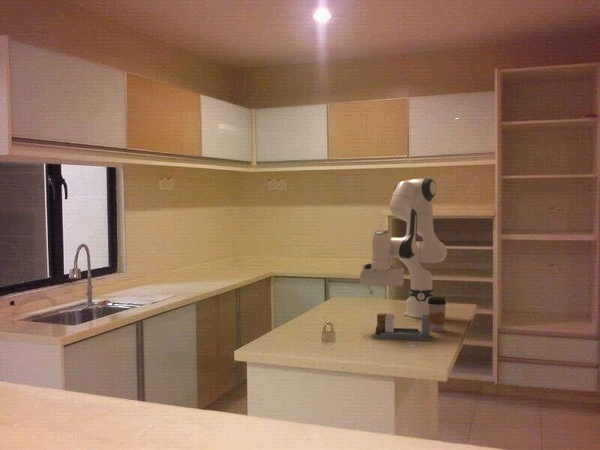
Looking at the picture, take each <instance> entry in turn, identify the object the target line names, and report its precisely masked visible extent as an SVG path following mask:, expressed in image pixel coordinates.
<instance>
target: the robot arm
mask: <svg viewBox="0 0 600 450" xmlns="http://www.w3.org/2000/svg"><path fill="white" fill-rule="evenodd" d="M436 194H437V185H436V182H435V181H434V179H433V178H428V177H427V178H426V177H425V178H413V179H407V180H400V181H397V182H396V183H395V185H394V188H393V193H392V196H391V199H390V203H389V209H390V211H391V214H392V215H393V216H394V217H396V218H397V219H399V220H402V221H404V222H406V232H405V235H404V236H402V237H397V236H396V237H395V236H391V232H390V231H389V230H385V229H383V230H376V231H374V232H373V235H372V240H371V241H372V242H371V251H372V257H371V261H368V262H367V263H363V264H362V265H361V266H362V270H361V271H360V274H359V284H360V285H362V286H367V290H368V291H369V295H370V296H371V295H372V296H373V295H374V290H372V288H371V286H388V287H389V286H392V290H391V291H389V295H390V296H394V292H395V289H396V288H397V287H402V286H403V285H404V274H405V268H404V267H402V266H401V265H392V258H398V259H399V260H400V262H402V263H403V264H404V265H405V266H406V268H407V270H408V272H409V278H410V288H409V297H408V298H407V299H406V311H404V312H403V313H402V314H403V316H405V317H406V316H407V317H410V318H418V319H421V317H422V316H423V315H429V310H428V300H429V298H430V297H434V289H433V274H432V273H431V271H429V270H428V269H426V268H424V267H422V265H421V263H423V264H424V263H426V264H427V263H429V264H430V263H431V264H435V263H440V262H444V261H445V260H446V258H447V255H448V250H447V247H446V245H445V244H444V243H443V242H441V241H440V240H439V238H438V237H437V235H436V233H435V231H434V220H433V219H434V213H433V212H434V209H433V208H434V207H433V201H432V200H433V199H434V197H435V196H436ZM417 235H418V236H420V237H421V238H422V241H420V240H419V241H417Z"/></svg>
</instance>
